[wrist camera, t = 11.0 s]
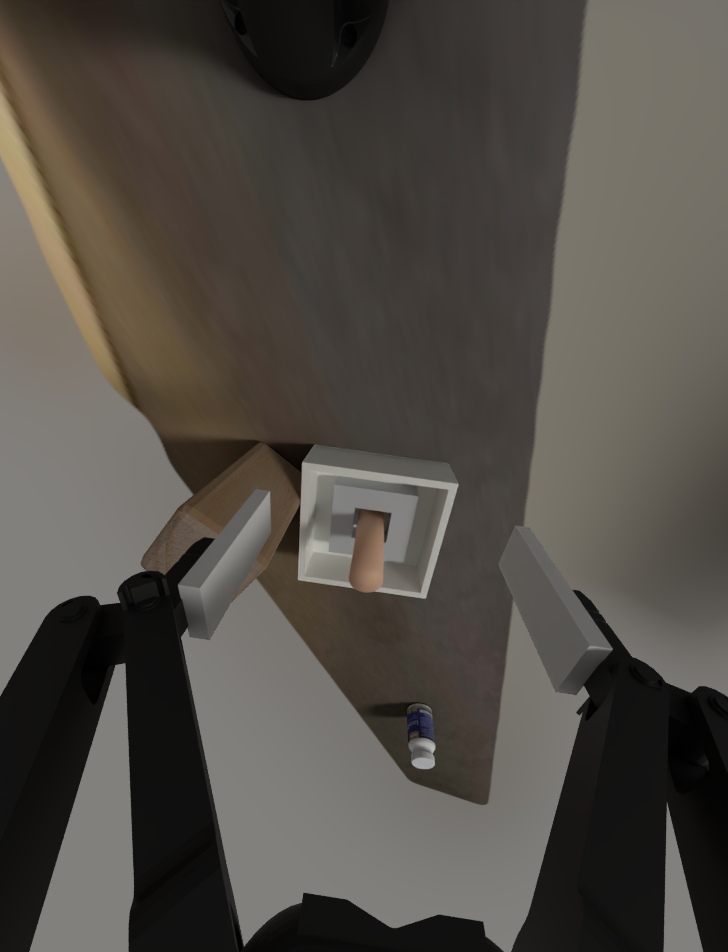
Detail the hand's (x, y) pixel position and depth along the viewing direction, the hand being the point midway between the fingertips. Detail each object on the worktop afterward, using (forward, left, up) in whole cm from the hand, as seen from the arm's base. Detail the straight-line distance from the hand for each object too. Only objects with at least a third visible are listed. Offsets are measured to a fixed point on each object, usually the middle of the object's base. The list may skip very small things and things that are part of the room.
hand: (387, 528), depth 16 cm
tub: (+16, 0, -28) cm, 32 cm away
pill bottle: (+68, +18, -28) cm, 76 cm away
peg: (+16, 0, -27) cm, 31 cm away
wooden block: (+13, -17, -28) cm, 35 cm away
